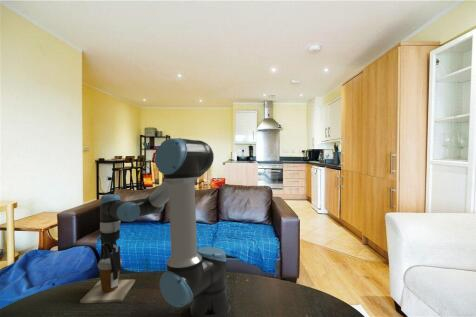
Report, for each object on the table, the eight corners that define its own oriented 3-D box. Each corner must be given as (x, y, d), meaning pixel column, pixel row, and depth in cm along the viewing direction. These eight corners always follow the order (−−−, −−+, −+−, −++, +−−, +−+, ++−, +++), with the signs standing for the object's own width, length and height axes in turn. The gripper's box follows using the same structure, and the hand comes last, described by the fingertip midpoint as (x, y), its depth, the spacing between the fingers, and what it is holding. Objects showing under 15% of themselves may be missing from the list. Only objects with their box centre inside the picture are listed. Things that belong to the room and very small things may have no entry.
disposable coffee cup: (126, 283, 109) (126, 256, 109) (113, 294, 100) (113, 265, 100) (106, 281, 110) (106, 255, 110) (92, 293, 101) (92, 264, 101)
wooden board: (135, 281, 114) (135, 279, 114) (121, 301, 98) (121, 299, 98) (99, 282, 112) (99, 280, 112) (79, 303, 97) (79, 300, 97)
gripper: (130, 233, 101) (130, 287, 101) (109, 224, 115) (108, 272, 115) (111, 238, 95) (111, 295, 95) (91, 227, 109) (91, 278, 109)
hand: (109, 282), depth 105 cm, fingers closed on disposable coffee cup, 8 cm apart
